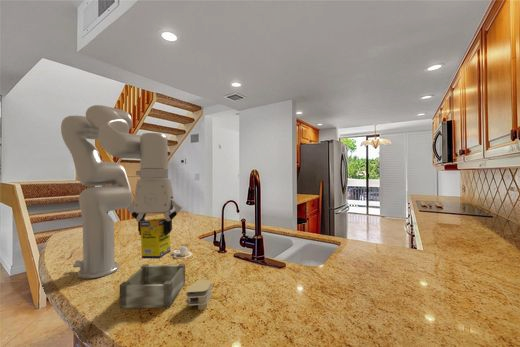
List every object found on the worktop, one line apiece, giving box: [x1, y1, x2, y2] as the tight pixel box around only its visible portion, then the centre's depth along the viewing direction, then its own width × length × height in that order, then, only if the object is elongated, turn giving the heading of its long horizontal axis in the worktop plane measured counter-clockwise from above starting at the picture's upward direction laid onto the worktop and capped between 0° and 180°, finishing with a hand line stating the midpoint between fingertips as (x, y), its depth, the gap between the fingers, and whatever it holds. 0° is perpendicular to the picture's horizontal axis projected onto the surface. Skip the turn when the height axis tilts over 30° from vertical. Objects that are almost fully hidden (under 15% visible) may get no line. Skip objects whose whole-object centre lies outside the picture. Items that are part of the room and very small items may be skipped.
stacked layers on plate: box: [185, 279, 213, 311], centre depth 64 cm, size 10×9×6 cm
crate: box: [119, 263, 186, 309], centre depth 69 cm, size 14×14×6 cm
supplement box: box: [140, 216, 171, 260], centre depth 69 cm, size 6×6×11 cm
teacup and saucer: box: [172, 245, 193, 259], centre depth 101 cm, size 9×8×4 cm
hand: (155, 233), depth 69 cm, fingers closed on supplement box, 6 cm apart
